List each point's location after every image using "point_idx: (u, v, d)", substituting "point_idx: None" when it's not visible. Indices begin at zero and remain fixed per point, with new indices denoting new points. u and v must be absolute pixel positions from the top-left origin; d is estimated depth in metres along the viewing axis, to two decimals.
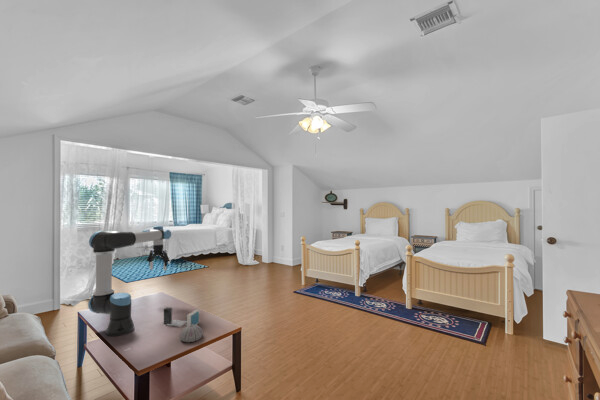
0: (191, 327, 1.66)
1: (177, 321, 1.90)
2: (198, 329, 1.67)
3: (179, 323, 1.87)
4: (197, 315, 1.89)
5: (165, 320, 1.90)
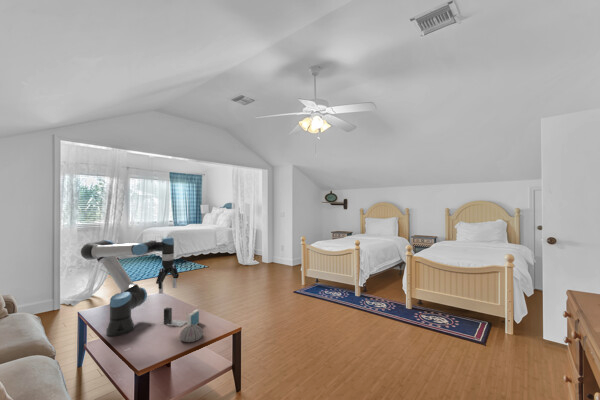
0: (191, 327, 1.66)
1: (177, 321, 1.90)
2: (198, 329, 1.67)
3: (179, 323, 1.87)
4: (197, 315, 1.89)
5: (165, 320, 1.90)
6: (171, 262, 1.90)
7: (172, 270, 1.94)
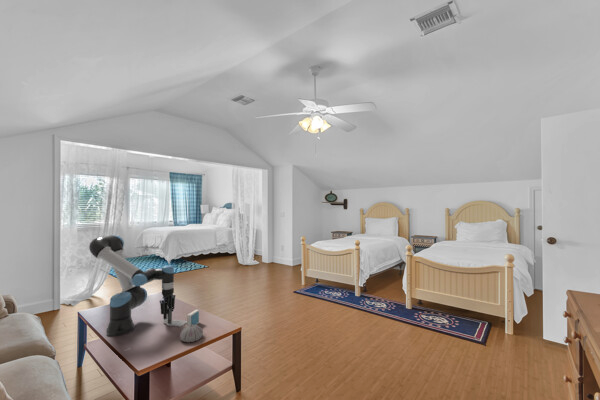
0: (191, 327, 1.66)
1: (177, 321, 1.90)
2: (198, 329, 1.67)
3: (179, 323, 1.87)
4: (197, 315, 1.89)
5: None
6: (171, 291, 1.90)
7: (171, 299, 1.92)
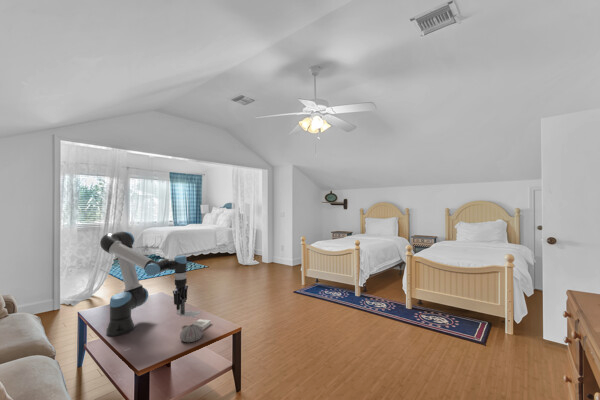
0: (191, 327, 1.66)
1: (190, 312, 1.88)
2: (198, 329, 1.67)
3: (192, 314, 1.85)
4: None
5: None
6: (184, 281, 1.88)
7: (184, 290, 1.90)
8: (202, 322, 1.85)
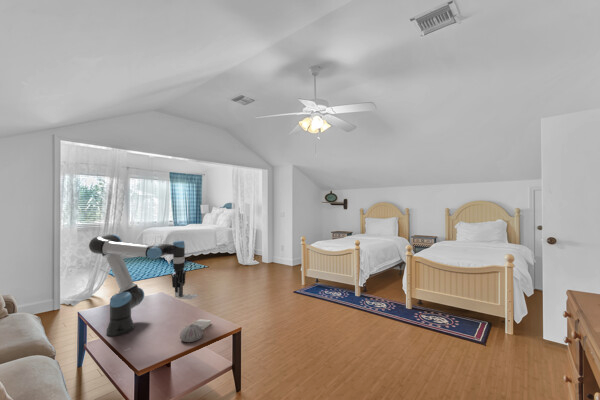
0: (191, 327, 1.66)
1: (188, 295, 1.94)
2: (198, 329, 1.67)
3: (190, 296, 1.92)
4: None
5: None
6: (182, 265, 1.94)
7: (182, 274, 1.96)
8: (202, 322, 1.85)
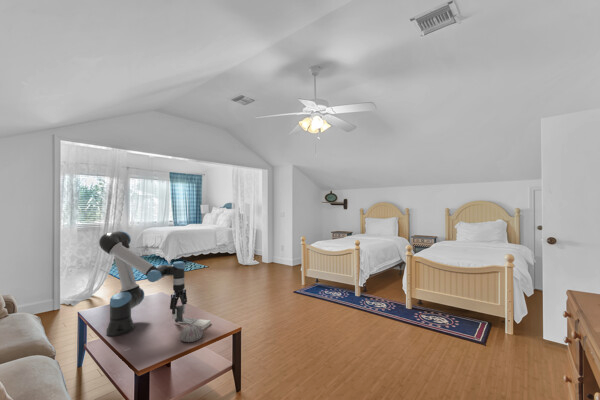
0: (191, 327, 1.66)
1: (188, 319, 1.94)
2: (198, 329, 1.67)
3: (190, 321, 1.91)
4: None
5: (176, 318, 1.93)
6: (182, 286, 1.93)
7: (182, 294, 1.97)
8: (202, 322, 1.85)
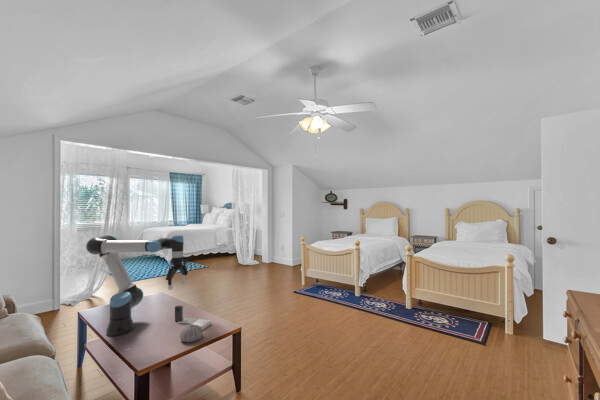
0: (191, 327, 1.66)
1: (188, 319, 1.94)
2: (198, 329, 1.67)
3: (190, 321, 1.91)
4: None
5: (176, 318, 1.93)
6: (180, 259, 1.95)
7: (181, 267, 1.99)
8: (202, 322, 1.86)
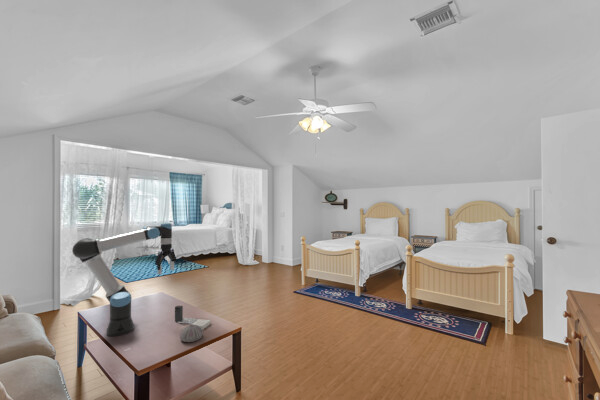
0: (191, 327, 1.66)
1: (188, 319, 1.94)
2: (198, 329, 1.67)
3: (190, 321, 1.91)
4: None
5: (176, 318, 1.93)
6: (169, 246, 2.06)
7: (170, 253, 2.09)
8: (201, 322, 1.86)
